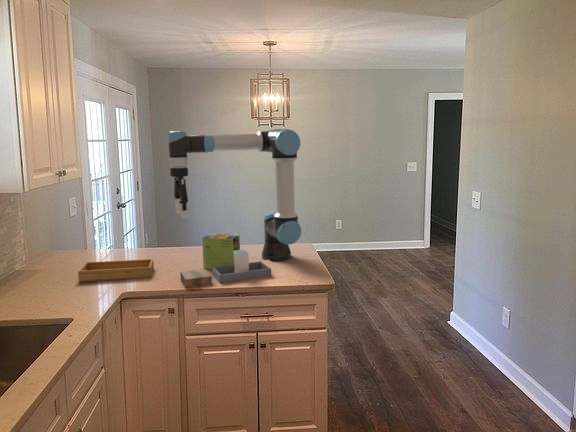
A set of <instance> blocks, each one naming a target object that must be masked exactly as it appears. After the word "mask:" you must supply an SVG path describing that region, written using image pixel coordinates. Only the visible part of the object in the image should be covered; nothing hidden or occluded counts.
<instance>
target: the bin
mask: <svg viewBox="0 0 576 432" xmlns="http://www.w3.org/2000/svg"><path fill="white" fill-rule="evenodd" d="M211 270H212V271H211V272H212V276H213V277H214V278H215V279H216V280H217V281H218V282H219V284H223V283H224V284H225V283H233V282H240V281H241V282H242V281H248V280H254V279H261V278H269V277H272V268H271V267H269V266H268V265H267V264H266V263H264V262H263V261H253V262H249V271H246V272H238V273H234V265H227V266H219V267H212V269H211Z"/></svg>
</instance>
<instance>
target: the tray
mask: <svg viewBox="0 0 576 432" xmlns="http://www.w3.org/2000/svg"><path fill="white" fill-rule="evenodd" d="M154 268H155V264H154V258H147V259H146V258H145V259H126V260H110V261H109V260H108V261H107V260H104V261H89V262H87V261H86V262H85V263H84V264H82V266H81V267H80V268H79V270H78V271H77V273H78V275H77V277H78V282H79V283H86V282H100V281H116V280H117V281H118V280H132V279H133V280H134V279H137V280H138V279H139V280H140V279H148V278H149V279H151V278H152V276H153V273H154Z"/></svg>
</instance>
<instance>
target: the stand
mask: <svg viewBox="0 0 576 432" xmlns="http://www.w3.org/2000/svg"><path fill="white" fill-rule="evenodd" d="M208 271H209V270H207V269H204V268H201V269H192V270H186V271H185V270H183V271H180V282H181V283H182V285H183V286H184V287H185V288H184V289H193V288H199V287H201V286H206V285H212V284H213V282H212V281H213V280H212V279H213V278H212V276H213V275H211V274H210V273H209V272H208Z"/></svg>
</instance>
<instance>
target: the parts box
mask: <svg viewBox="0 0 576 432" xmlns="http://www.w3.org/2000/svg"><path fill="white" fill-rule="evenodd" d="M249 263H250V262H249V252H248V251H247V250H246V249H240V250H234V273H238V272H246V271H249Z"/></svg>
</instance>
